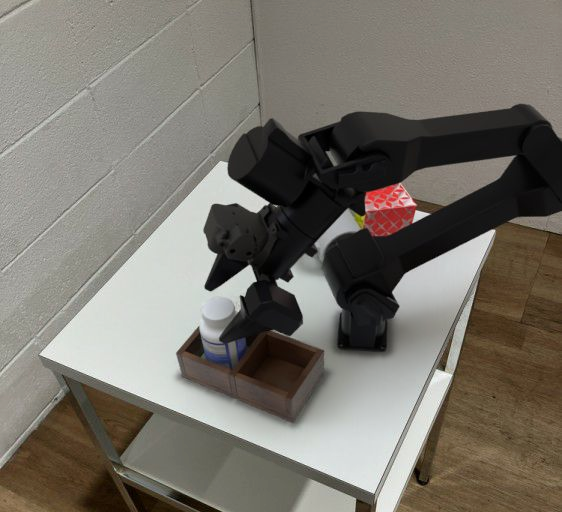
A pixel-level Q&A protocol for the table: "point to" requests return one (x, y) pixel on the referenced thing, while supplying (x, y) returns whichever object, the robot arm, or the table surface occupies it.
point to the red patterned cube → (386, 210)
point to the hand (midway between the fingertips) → (214, 314)
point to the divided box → (259, 372)
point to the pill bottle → (211, 327)
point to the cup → (337, 233)
